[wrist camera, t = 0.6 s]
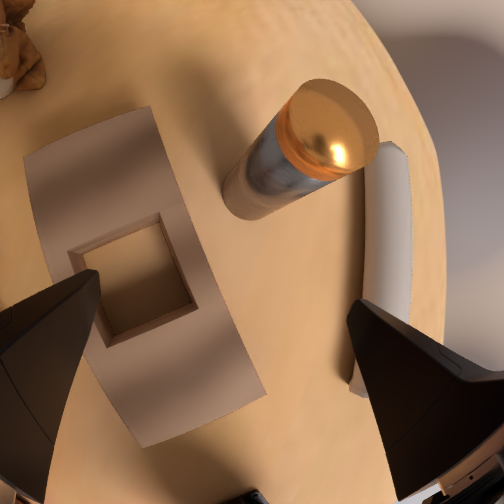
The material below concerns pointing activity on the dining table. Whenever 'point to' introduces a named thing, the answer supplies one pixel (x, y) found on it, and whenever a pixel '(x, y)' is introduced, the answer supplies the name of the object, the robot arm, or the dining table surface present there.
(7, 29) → the stuffed squirrel
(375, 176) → the tube
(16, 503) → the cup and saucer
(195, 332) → the grey hollow block
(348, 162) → the metallic cylinder
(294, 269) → the dining table surface
